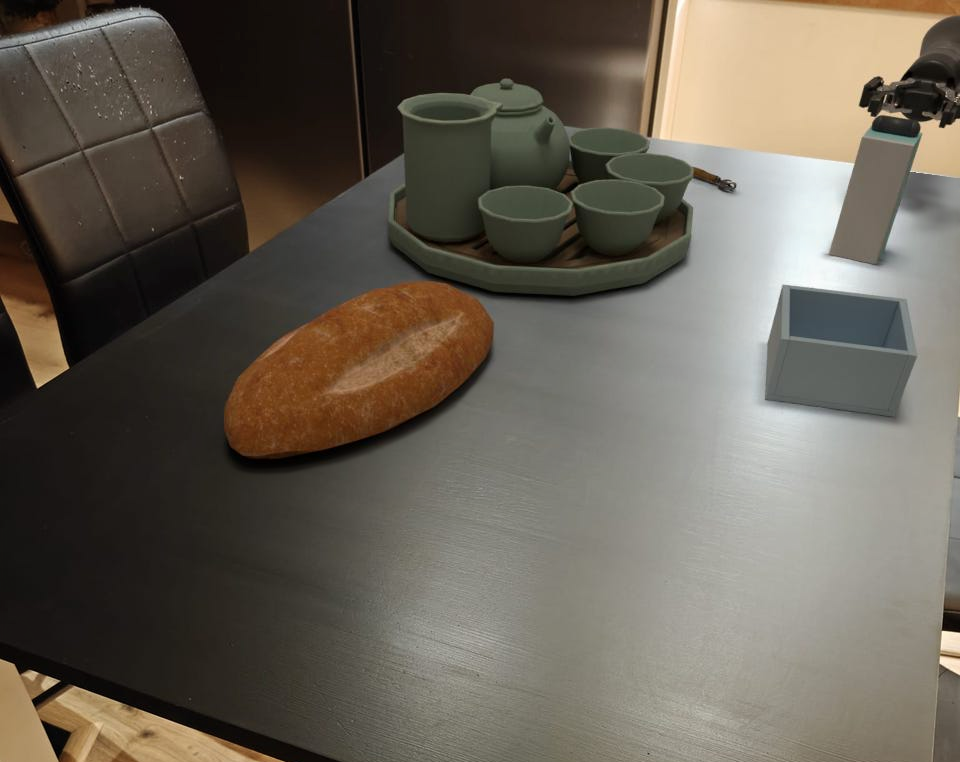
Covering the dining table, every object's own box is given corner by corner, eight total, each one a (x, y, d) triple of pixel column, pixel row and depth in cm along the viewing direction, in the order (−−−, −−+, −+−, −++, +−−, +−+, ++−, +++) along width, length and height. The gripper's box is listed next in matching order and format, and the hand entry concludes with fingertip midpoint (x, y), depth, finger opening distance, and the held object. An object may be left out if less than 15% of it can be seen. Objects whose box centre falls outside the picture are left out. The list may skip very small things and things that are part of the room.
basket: (885, 357, 101) (906, 298, 97) (894, 417, 93) (917, 355, 88) (767, 342, 103) (782, 283, 99) (764, 399, 95) (781, 338, 90)
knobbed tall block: (839, 239, 124) (876, 110, 113) (884, 249, 122) (927, 118, 111) (828, 254, 121) (866, 121, 110) (875, 264, 119) (918, 130, 108)
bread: (540, 350, 101) (545, 269, 95) (305, 501, 81) (293, 411, 74) (416, 303, 108) (414, 225, 102) (173, 431, 88) (152, 343, 82)
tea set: (609, 331, 104) (628, 174, 93) (326, 249, 119) (312, 104, 107) (736, 219, 129) (764, 84, 117) (488, 162, 143) (491, 37, 132)
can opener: (687, 174, 141) (688, 166, 140) (698, 171, 142) (700, 163, 141) (730, 193, 135) (732, 185, 135) (742, 190, 136) (743, 182, 136)
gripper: (887, 45, 129) (861, 71, 118) (996, 60, 124) (979, 89, 114) (870, 106, 134) (844, 136, 124) (974, 122, 129) (956, 155, 119)
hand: (909, 113), depth 119 cm, fingers open, 8 cm apart
